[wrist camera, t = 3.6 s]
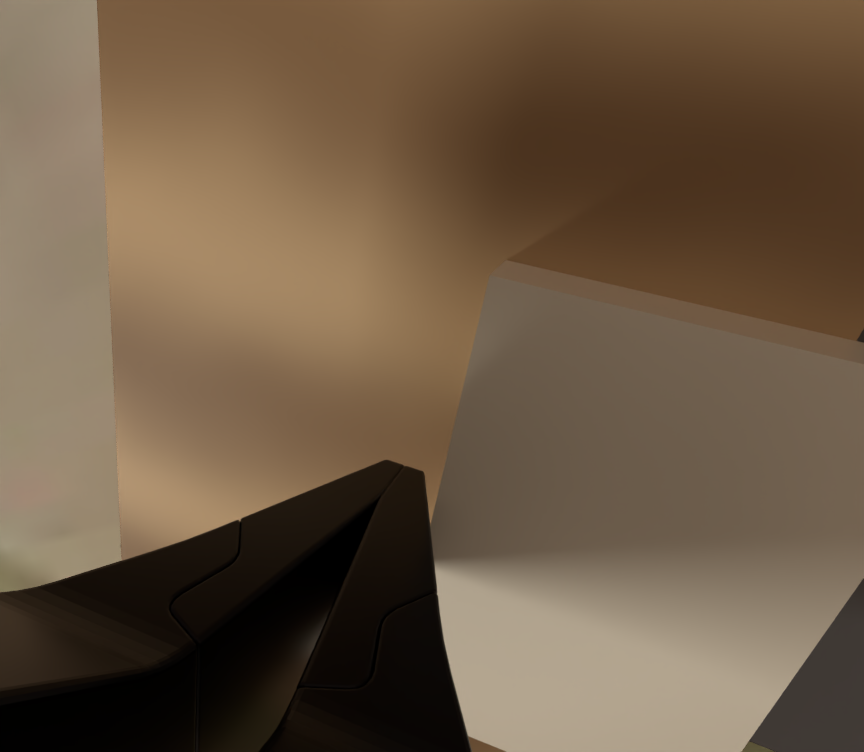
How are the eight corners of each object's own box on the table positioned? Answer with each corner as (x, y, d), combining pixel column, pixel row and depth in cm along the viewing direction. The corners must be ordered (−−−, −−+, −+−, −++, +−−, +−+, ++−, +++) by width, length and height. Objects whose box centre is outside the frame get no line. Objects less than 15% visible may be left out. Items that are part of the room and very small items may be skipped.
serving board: (552, 721, 17) (549, 861, 13) (209, 579, 19) (126, 667, 16) (927, -44, 9) (1190, -226, 5) (244, -136, 11) (83, -307, 7)
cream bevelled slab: (667, 720, 11) (689, 826, 9) (415, 625, 12) (388, 703, 10) (886, 348, 7) (992, 395, 6) (506, 259, 8) (489, 275, 7)
